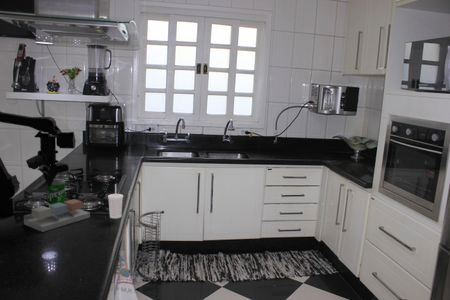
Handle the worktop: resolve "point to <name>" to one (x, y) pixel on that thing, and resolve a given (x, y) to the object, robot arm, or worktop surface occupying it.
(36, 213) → the grey block
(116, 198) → the beverage cup
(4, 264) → the worktop surface
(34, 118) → the robot arm
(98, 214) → the worktop surface
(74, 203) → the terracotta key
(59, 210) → the light blue block
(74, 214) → the panel
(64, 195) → the soda can
